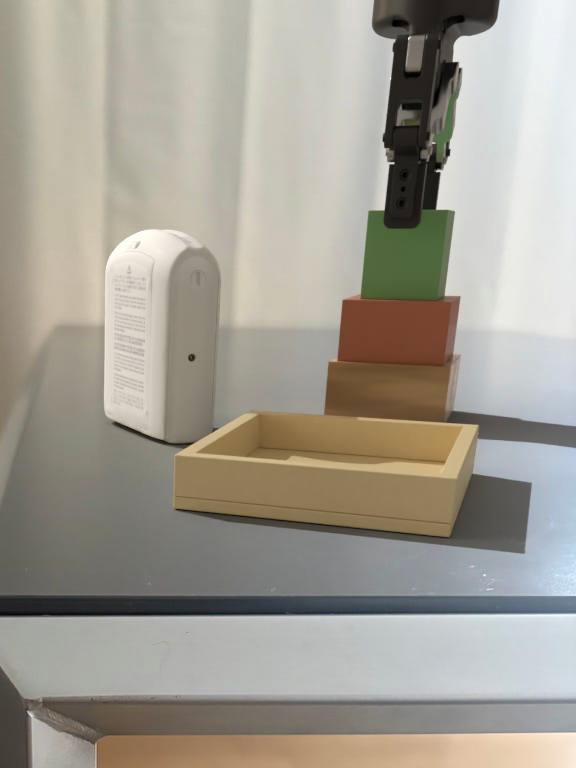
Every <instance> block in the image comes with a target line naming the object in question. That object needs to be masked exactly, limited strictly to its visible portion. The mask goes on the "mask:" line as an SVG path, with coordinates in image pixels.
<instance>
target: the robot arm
mask: <svg viewBox="0 0 576 768" xmlns="http://www.w3.org/2000/svg"><path fill="white" fill-rule="evenodd" d="M500 2H501V0H373V8H372V17H371V28H372V30H373V32H374V33H375V34H376V35H378V36H379V37H381V38H385V39H388V40H389V39H390V40H394V41H393V42H392V54H393V56H392V64H391V73H390V77H389V79H390V80H389V89H388V90H389V92H388V99H387V100H388V101H387V109H386V118H385V127H384V132H383V133H382V141H381V142H382V143H383V148H384V149H385V157H386V162H387V163H389V164H388V172H387V173H388V174H387V182H386V190H385V191H386V194H385V201H384V209H383V210H384V220H383V222H384V225H385V226H386V227H387V228H389V229H414V228H416V227H417V226H418V225H419V224H420V221H421V214H422V210H437V207H438V198H439V191H440V182H441V174H442V172H441V171H444V169H445V166H447V163H448V159H449V157H451V151H452V149H451V148H450V143H451V139H452V138H453V134H454V130H455V127H456V115H457V114H456V113H457V100H458V99H459V96H460V92H461V89H462V83H463V67H460V61H454V51H455V50H454V47H455V43H456V42H457V40H458V39H460V38H462V37H472V36H477V35H479V34H482V33H483V34H484V33H485V32H487V31H489V30H490V29H491V28H493V27H494V25H496V22H497V20H498V16H499V9H500Z"/></svg>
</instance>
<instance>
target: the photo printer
mask: <svg viewBox="0 0 576 768" xmlns="http://www.w3.org/2000/svg"><path fill="white" fill-rule="evenodd" d="M221 288H222V276H221V268H220V265H219V263H218V260H217V258H216V257H215V255H214V254H213V252H212V251H211V250H210V249H209V248H208V247H207V245H205V244H203V243H202V242H201V241H200V240H198V239H196V238H195V237H194V236H192V235H190V234H188V233H186V232H183V231H180V230H176V229H157V228H153V229H152V228H151V229H145V230H141V231H137V232H136V233H133V234H132V235H129V236H128V237H127V238H125V239H124V240H122V241H121V242H120V243H119V244H118V245H117V246H116V247H115V248H114V250H113V251H112V252H111V253H110V255H109V257H108V259H107V263H106V266H105V272H104V369H103V371H104V372H103V374H104V377H103V409H104V415H105V416H106V418H108V419H110V420H111V421H114V422H116V423H118V424H120V425H123V426H126V427H128V428H131V429H133V430H135V431H138V433H139V432H140V433H142V434H144V435H147V436H148V437H151V438H154V439H157V440H161V441H164V442H166V443H169V444H194V443H196V442H198V441H199V440H201V439H203V438H204V437H206V436H208V435H210V434H211V433H213V430H214V429H213V428H214V422H215V405H216V391H217V390H216V389H217V388H216V387H217V372H218V351H219V331H220V314H221V313H220V312H221V290H222V289H221Z"/></svg>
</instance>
